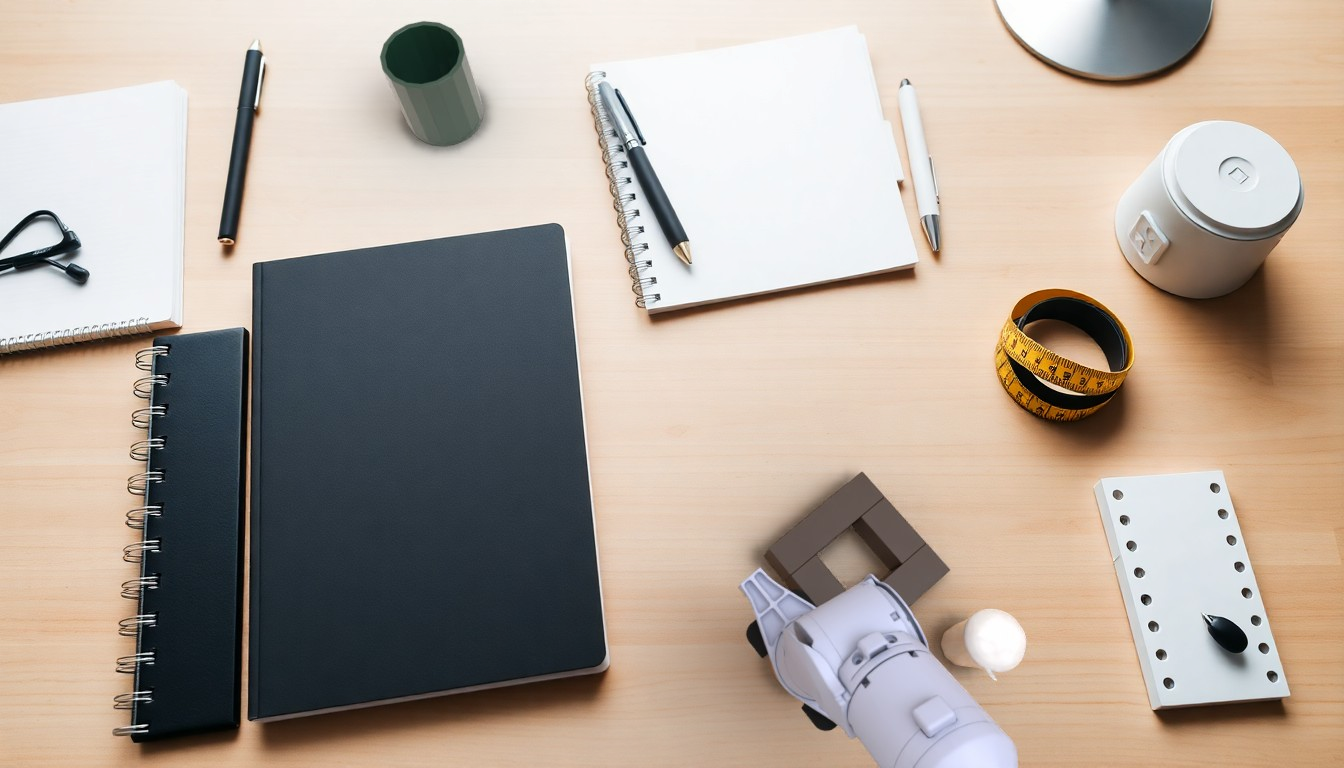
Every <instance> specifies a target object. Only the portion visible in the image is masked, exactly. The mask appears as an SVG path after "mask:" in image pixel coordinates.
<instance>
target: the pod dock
mask: <svg viewBox="0 0 1344 768" xmlns="http://www.w3.org/2000/svg"><path fill="white" fill-rule="evenodd" d="M850 527H852V528H853V530H854V531H855V532H856V533H857V535H859V537H860V538H861V539H862V540H863V541H864V542H865V543H866V544H867V546H868V547H869V548H870V549H871V551H872V552H874V554H875V555H876V556H877V557H878V558H879V560H880V561H881V562H882V563H883V564H884V566H885V567H886V568H887V569H888V570H889V571H888V572H887V573H886V574H885V575H884V576H882V577H881V578H880V579H878V580H879V581H880V582H884V583H886V584H888V585H889V586H890V587H891V588H892V589H894V590H895V591H896V592H897V594H898V595H899V596H900V597H901V598H902V599H903V601H904V602H905V603H906V605H907V606H908V607H909V608H910V607H911V606H912V605H913V604H914V603H915V602H916V601H917V600H919V599H920V598H921V597H922V596H923V595H925V594H926V592H928V591H929V590H930V589H931V588H932V587H934V586H935V585H936V584H937V583H938V582H939V581H940V580H942V578H943V577H945V576H946V575H947V574H948V573H949V572H951V568H950V567H949V566H948V565H947V564H946V563H945V562H944V561H943V559H942V558H941V557H940V556H939V555H938V554H937V553H936V552H935V551H934V549H933V548H932V547H931V546H930V545H929V544H928V543H927V541H925V540H924V539H923V538H922V536H921V535H920V534H919V533H918V531H916V529H914V527H913V526H912V525H911V524H910V523H909V522H908V520H907V519H906V518H905V517H904V516H903V515H902V514H901V513H900V512H899V511H898V510H897V508H895V506H894V505H893V504H892V503H891V502H890V500H889V499H888V498H887V497H886V496H885V495H884V494H883V492H882V491H881V490H880V489H879V488H878V487H877V486H876V485H875V484H874V483H873V481H872V480H871V479H870V478H869V477H868V476H867V475H866V474H865V473H864V471H860V472H859V473H857V474H856V476H854V477H853V478H851V479H850V481H848V482H847V483H846V484H845V485H844V486H842V487H841V488H840V489H838V490H837V491H836V492H835V493H833V495H831V496H830V497H829V498H828V499H827V500H825V501H824V502H823V503H821V504H820V505H819V506H818V507H817V508H815V509H814V510H813V511H812V512H811V513H809V514H808V515H807V516H806V517H804V518H803V519H801V520H800V522H798V523H797V524H796V525H795V526H793V528H791V529H790V530H789V531H787V532H786V533H784V535H783V536H781V537H780V538H779V539H777V540H776V542H774V543H773V544H771V546H769V547H768V548H767V549H766V551H765V553H764V554H763V558H764V559H765V561H767V563H768V564H769V565H770V566H771V567H772V569H773V570H774V571H775V572H776V574H777V575H778V576H779V578H781V580H782V581H783V582H784V583H785V585H786V586H787V587H788V588H789V590H790V591H791V590H794V589H799V590H802V591H804V592H805V593H806V594H807V595H808V596H809V597H810V598H811V600H812V601H813V602H814V603H815V604H816V606H817V607H819V606H820V605H822V604H824V603H826V602H827V601H829V600H831V599H833V598H834V597H836V596H838V595H840V594H841V593H843V592H845V591H846V590H847V589H846V587H844V586H843V584H842V583H841V582H840V581H839V580H838V578H837V577H836V576H835V575H834V574H833V573H832V572H831V570H830V569H829V568H828V567H827V566H826V564H825V563H824V562H823V561H822V559H821V558H820V557H819V556H818V554H819V553H820V552H821V551H823V550H824V549H825V548H826V547H828V546H829V545H830V544H831V543H832V542H833V541H834V540H836V539H837V538H839V536H841V535H842V534H843V533H844V532H845V531H846V530H848V529H849V528H850Z"/></svg>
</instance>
